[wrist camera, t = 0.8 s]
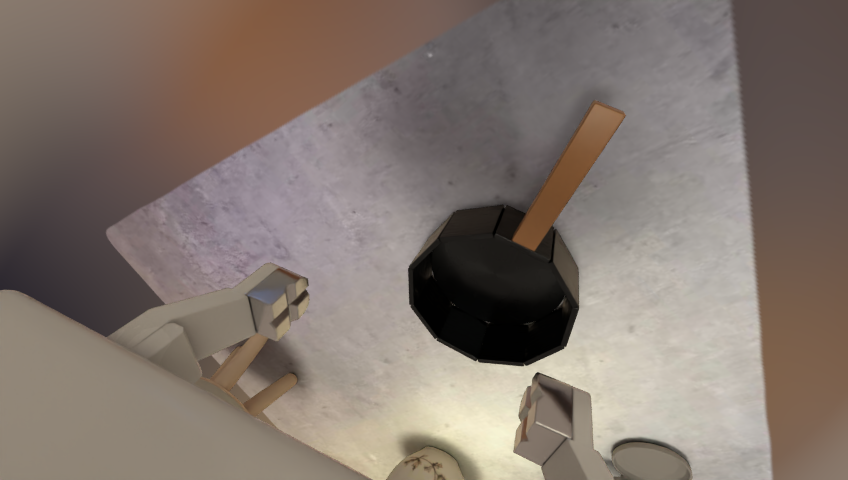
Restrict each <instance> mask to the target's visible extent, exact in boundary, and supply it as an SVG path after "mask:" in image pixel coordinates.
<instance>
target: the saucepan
mask: <svg viewBox="0 0 848 480" xmlns="http://www.w3.org/2000/svg"><path fill="white" fill-rule="evenodd" d="M625 116H626V115H625V113H624V112H623V111H621V110H618V109H616V108H613V107H611V106H609V105H606V104H604V103H601V102H599V101H596V100H594V101H593V102H592V104H591V106H590V107H589V109H588V111H587V112H586V114H585V116H584V117H583V119H582V121H581V122H580V124H579V126H578V127H577V129H576V131H575V132H574V134H573V136H572V137H571V139H570V141H569V142H568V144H567V146H566V147H565V149H564V151H563V152H562V154H561V156H560V157H559V159H558V161H557V162H556V164H555V166H554V168H553V169H552V171H551V173H550V174H549V176H548V178H547V179H546V181H545V183H544V184H543V186H542V188H541V189H540V191H539V193H538V194H537V196H536V198H535V199H534V201H533V203H532V204H531V206H530V208H529V209H528V211H527V213H526V214H525V213H523V212H520V211H518V210H516V209H514V208H512V207H510V206H508V205H506V207H505V209H504V205H496V206H489V207H481V208H473V209H465V210H457V211H456V213H455V212H454V213H453V214H452V215H451V216H450V217H449V218H448V219H447V220H446V221H445V222H444V223H443V224H442V225H441V226H440V227H439V228H438V229H437V230H436V231H435V232H434V233H433V234H432V235H431V236H430V237H429V238H428V240H427V241H426V243H425V244H424V246H423V247H422V248H421V250H420V251H419V253H418V254H417V256H416V257H415V259H414V260H413V261H412V263H411V264H410V266H409V268H408V276H409V304H410V305H411V308H412V310H413V311H414V312H415V313H416V315H417V316H418V317H419V319H420V320H421V321H422V323H423V324H424V325H425V327H426V328H427V329H428V331H429V332H430V333H431V335H432V336H433V337H434V339H436V338H437V341H439V342H441V343H442V344H444V345H446V346H448V347H450V348H452V349H454V350H455V351H457V352H459V353H461V354H463V355H465V356H467V357H469V358H470V359H472V360H474V361H477V359H478V362H481V363H492V364H503V365H514V366H524V364H525V365H526V366H527V365H530V364H532V363H534V362H536V361H538V360H541V359H543V358H545V357H547V356H549V355H551V354H554V353H556V352H558V351H560V350H562V349H564V346H565V347H566V346H567V343H568V340H569V337H570V334H571V331H572V328H573V325H574V322H575V319H576V316H577V313H578V310H579V272H578V267H577V265H576V264H575V262H574V260H573V258H572V257H571V255H570V253H569V251H568V249H567V248H566V246H565V244H564V242H563V240H562V239H561V237H560V235H559V233H558V231H557V230H556V229H555V230H553V229H554V227H553V226H552V225H553V223H554V222H555V220H556V219H557V217H558V216H559V214H560V213H561V211H562V210H563V208H564V207H565V205H566V204H567V202H568V201H569V199H570V198H571V197H572V195H573V194H574V192H575V191H576V189H577V188H578V186H579V185H580V183H581V182H582V180H583V179H584V177H585V176H586V174H587V173H588V171H589V170H590V168H591V167H592V165H593V164H594V162H595V161H596V159H597V158H598V157H599V155H600V154H601V152H602V151H603V149H604V148H605V146H606V145H607V143H608V142H609V140H610V139H611V137H612V136H613V134H614V133H615V131H616V130H617V128H618V127H619V125H620V124H621V122H622V121H623V119H624V118H625ZM431 265H432V271H433V274H434V278H435V279H434V278H433V277H432V275H431ZM435 280H436V281H435ZM565 295H566V296H565ZM564 297H565V299H564ZM563 299H564V302H563V305H562V307H560V308H558V309H556V308H557V307H558V306H559V304H560V303H561V302H562V300H563ZM450 301H451V302H452V303H453V304H454V305H455V306H454V305H452V303H451V302H450ZM456 306H457V307H456ZM555 309H556V310H555ZM552 311H553V312H552ZM485 321H486V322H485ZM534 321H535V322H534ZM487 322H490V323H487ZM530 322H533V323H531V324H529V325H524V324H526V323H530Z"/></svg>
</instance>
